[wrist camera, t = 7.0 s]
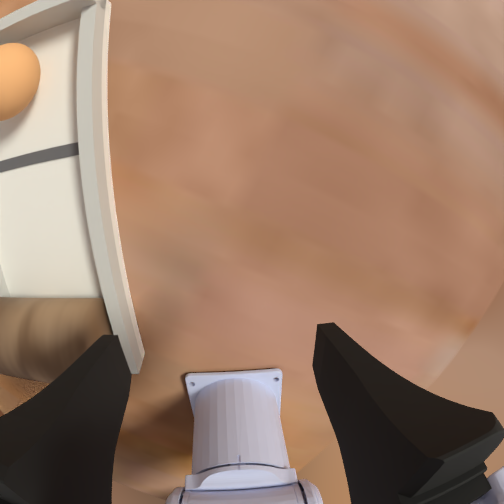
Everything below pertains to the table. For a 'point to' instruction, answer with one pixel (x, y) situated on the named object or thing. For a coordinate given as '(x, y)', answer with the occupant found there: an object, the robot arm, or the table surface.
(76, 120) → the lane
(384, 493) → the robot arm
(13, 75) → the ball
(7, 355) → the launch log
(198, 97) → the table surface
